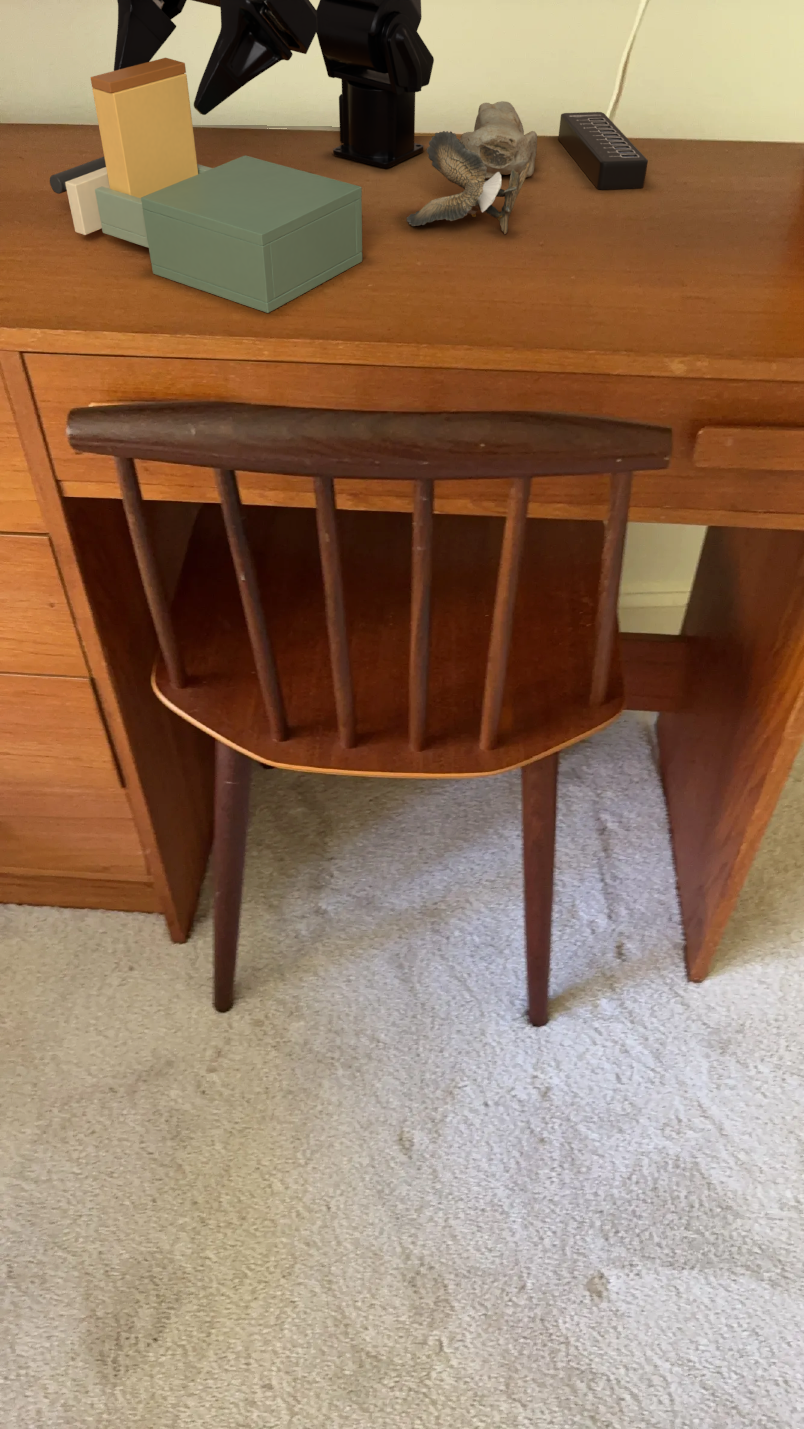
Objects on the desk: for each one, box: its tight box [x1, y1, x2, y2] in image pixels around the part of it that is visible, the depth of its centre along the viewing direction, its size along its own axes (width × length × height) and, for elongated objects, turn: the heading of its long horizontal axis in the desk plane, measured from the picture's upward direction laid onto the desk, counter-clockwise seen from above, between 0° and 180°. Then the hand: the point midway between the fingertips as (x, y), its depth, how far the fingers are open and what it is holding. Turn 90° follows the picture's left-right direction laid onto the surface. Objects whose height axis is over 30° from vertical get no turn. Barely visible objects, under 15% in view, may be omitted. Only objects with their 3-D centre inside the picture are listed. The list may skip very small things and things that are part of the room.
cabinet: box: [141, 155, 363, 314], centre depth 79 cm, size 12×12×6 cm
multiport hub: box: [557, 111, 649, 191], centre depth 98 cm, size 4×14×2 cm, turn 9°
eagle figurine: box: [406, 130, 530, 235], centre depth 86 cm, size 8×7×9 cm
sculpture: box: [459, 100, 538, 180], centre depth 97 cm, size 7×5×15 cm
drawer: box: [49, 156, 214, 249], centre depth 84 cm, size 15×10×4 cm
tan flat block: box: [90, 57, 198, 198], centre depth 80 cm, size 7×2×10 cm, turn 140°
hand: (157, 98), depth 79 cm, fingers open, 9 cm apart
